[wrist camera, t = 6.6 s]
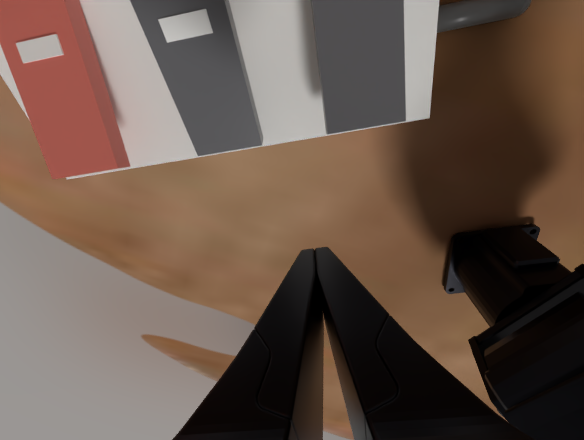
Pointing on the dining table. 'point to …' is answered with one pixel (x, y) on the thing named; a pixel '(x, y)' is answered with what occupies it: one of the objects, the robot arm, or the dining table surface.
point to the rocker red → (61, 86)
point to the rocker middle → (203, 71)
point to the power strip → (255, 69)
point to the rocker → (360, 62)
